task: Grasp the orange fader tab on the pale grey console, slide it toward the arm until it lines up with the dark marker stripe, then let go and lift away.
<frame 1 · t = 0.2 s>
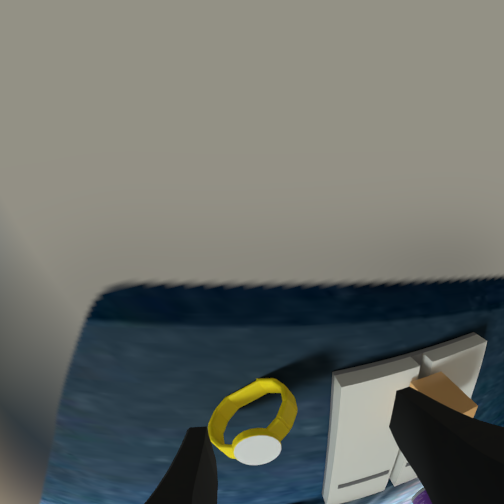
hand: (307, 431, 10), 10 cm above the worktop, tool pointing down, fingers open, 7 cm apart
fader tab: (432, 408, 18), point 4 cm above the worktop, slide at 10.0 cm
fader console: (397, 426, 23), on the worktop
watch: (247, 391, 21), on the worktop
container: (425, 491, 28), on the worktop
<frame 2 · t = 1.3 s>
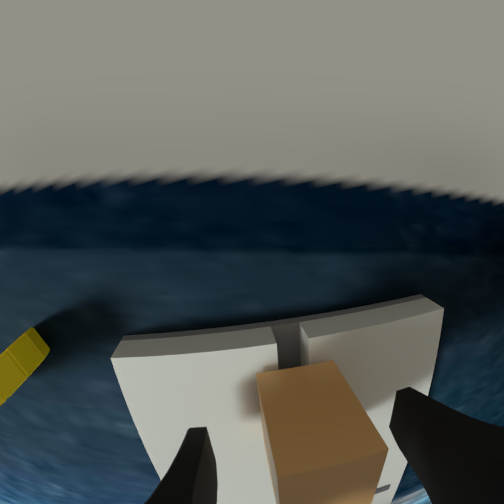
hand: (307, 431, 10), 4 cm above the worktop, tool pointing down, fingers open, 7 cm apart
fader tab: (306, 433, 10), point 4 cm above the worktop, slide at 10.0 cm
fader console: (289, 450, 15), on the worktop
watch: (27, 349, 13), on the worktop
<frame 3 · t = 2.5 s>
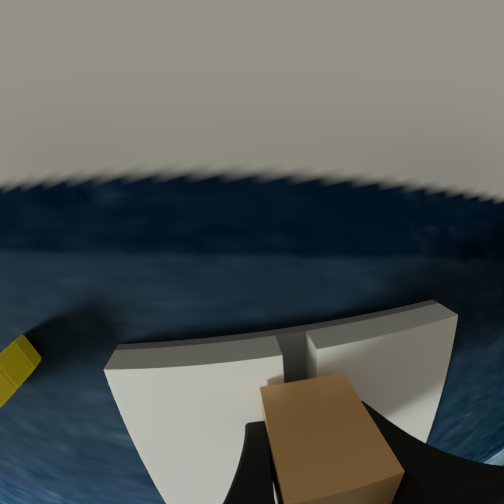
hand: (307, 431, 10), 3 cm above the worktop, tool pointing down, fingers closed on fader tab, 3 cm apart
fader tab: (313, 449, 9), point 4 cm above the worktop, slide at 10.0 cm, touching gripper
fader console: (293, 460, 14), on the worktop
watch: (19, 356, 12), on the worktop
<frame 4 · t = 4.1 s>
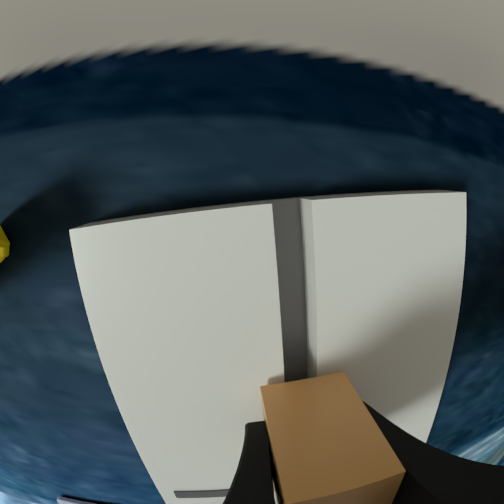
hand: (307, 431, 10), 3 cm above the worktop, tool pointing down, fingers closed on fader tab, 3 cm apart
fader tab: (314, 449, 9), point 4 cm above the worktop, slide at 5.0 cm, touching gripper
fader console: (291, 394, 13), on the worktop
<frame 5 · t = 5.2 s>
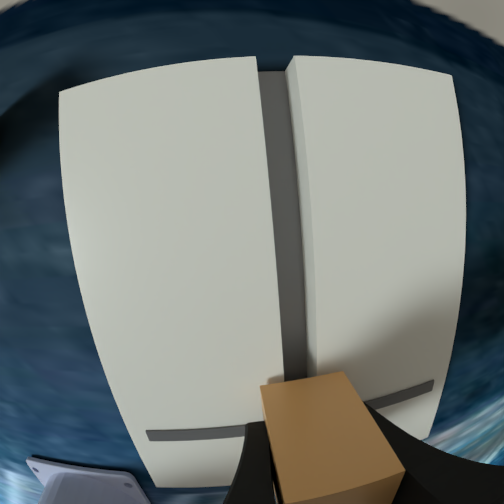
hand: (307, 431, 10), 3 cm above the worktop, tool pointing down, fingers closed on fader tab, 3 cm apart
fader tab: (313, 448, 9), point 4 cm above the worktop, slide at 0.4 cm, touching gripper
fader console: (286, 300, 12), on the worktop
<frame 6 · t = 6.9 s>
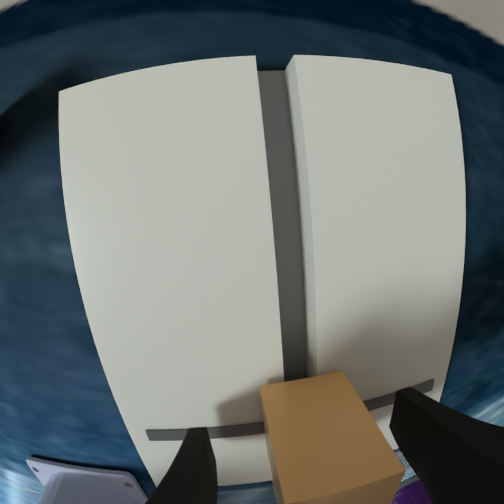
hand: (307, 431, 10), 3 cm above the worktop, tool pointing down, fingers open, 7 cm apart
fader tab: (313, 448, 9), point 4 cm above the worktop, slide at 0.4 cm
fader console: (286, 300, 12), on the worktop
container: (404, 490, 17), on the worktop
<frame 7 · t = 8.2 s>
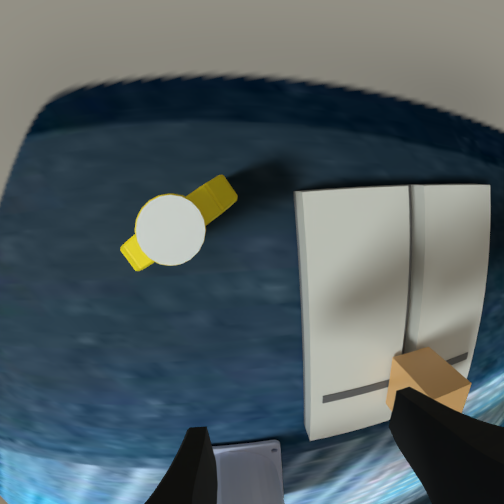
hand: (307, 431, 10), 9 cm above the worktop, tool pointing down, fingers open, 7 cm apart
fader tab: (419, 388, 17), point 4 cm above the worktop, slide at 0.4 cm
fader console: (398, 310, 20), on the worktop
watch: (185, 216, 18), on the worktop
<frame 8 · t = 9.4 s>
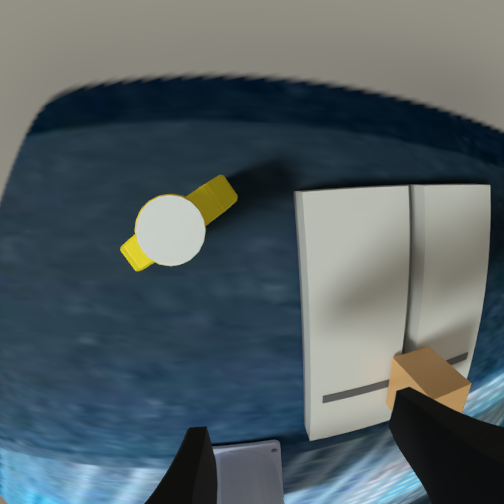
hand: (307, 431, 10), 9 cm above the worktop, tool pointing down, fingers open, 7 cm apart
fader tab: (419, 388, 17), point 4 cm above the worktop, slide at 0.4 cm
fader console: (398, 310, 20), on the worktop
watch: (185, 216, 18), on the worktop
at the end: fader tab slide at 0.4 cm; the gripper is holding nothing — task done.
